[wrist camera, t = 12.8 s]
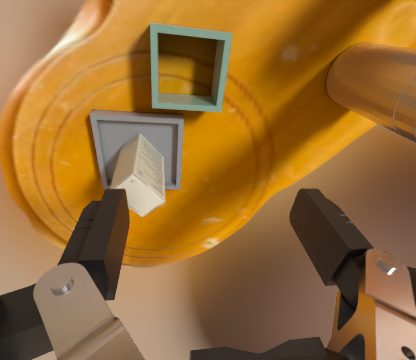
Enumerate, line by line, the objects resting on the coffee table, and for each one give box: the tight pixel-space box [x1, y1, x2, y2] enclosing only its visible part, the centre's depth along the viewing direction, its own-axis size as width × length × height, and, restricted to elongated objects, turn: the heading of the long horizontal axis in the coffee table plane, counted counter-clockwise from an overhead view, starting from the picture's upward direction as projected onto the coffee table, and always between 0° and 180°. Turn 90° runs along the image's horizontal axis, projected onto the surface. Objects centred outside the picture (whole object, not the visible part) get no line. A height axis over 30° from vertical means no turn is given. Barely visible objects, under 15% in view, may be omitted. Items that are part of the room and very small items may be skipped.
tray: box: [90, 110, 184, 190], centre depth 40 cm, size 14×14×2 cm
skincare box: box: [110, 133, 165, 217], centre depth 35 cm, size 6×4×12 cm
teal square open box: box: [150, 22, 232, 112], centre depth 32 cm, size 10×10×5 cm
